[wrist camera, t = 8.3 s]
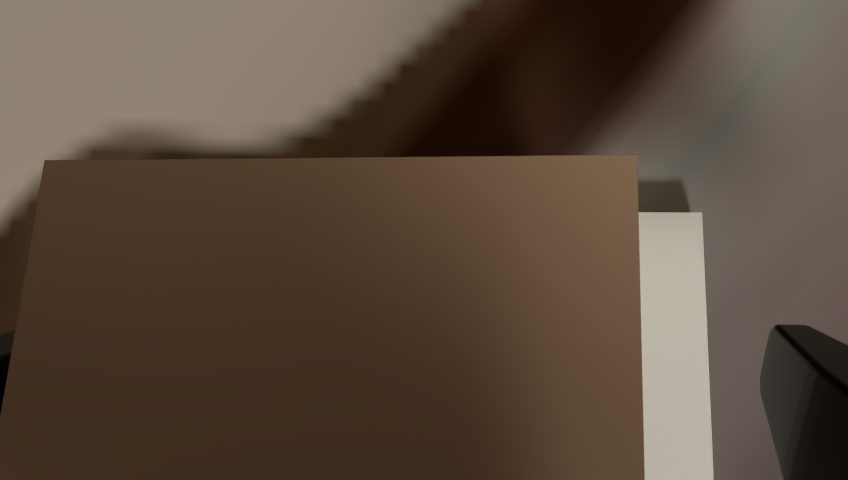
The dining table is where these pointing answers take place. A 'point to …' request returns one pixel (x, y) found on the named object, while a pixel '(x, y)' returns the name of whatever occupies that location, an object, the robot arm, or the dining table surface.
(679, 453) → the felt coaster
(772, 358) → the robot arm
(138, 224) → the walnut block
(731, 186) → the dining table surface
